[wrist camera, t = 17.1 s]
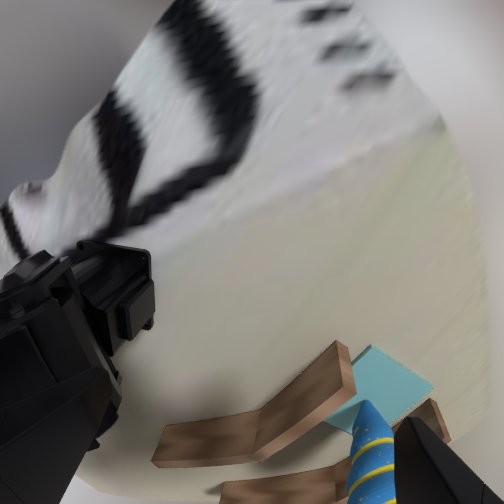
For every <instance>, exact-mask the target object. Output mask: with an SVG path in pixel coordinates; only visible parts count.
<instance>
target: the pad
mask: <svg viewBox="0 0 504 504" xmlns="http://www.w3.org/2000/svg"><path fill="white" fill-rule="evenodd" d="M351 365H352V370H353V375H354V381H355V386H356V391H357V394H356V395H355V396H354V397H352V398H351V399H350V400H349V401H347V402H346V403H345V404H344V405H342V406H341V407H340V408H339V409H337V410H336V411H335V412H333V413H332V414H331V415H330V416H328V417H327V418H326V419H324V420H323V421H324V422H326V423H328V424H330V425H333V426H335V427H337V428H339V429H341V430H344V431H346V432H348V433H351V434H352V427H353V424H354V421H355V419H356V417H357V415H358V412H359V410H360V407H361V404H362V402H363V401H365V400H369V401H370V402H371V403H372V404H373V406H374V407H375V408H376V409H377V411H378V412H379V413H380V414H381V416H382V417H383V418H384V420H385V421H386V422H387V423H388V424H390V423H391V422H392V421H394V420H395V419H396V418H398V417H399V416H400V415H401V414H403V413H404V412H405V411H406V410H408V409H409V408H410V407H411V406H413V405H414V404H415V403H416V402H417V401H419V400H420V399H421V398H422V397H423V396H425V395H426V394H427V393H428V392H429V391H430V390H431V389H433V386H432V385H431V384H430V383H428V382H427V381H425V380H424V379H422V378H421V377H419V376H417V375H416V374H414V373H413V372H411V371H410V370H408V369H407V368H405V367H404V366H402V365H401V364H399V363H398V362H396V361H395V360H393V359H392V358H390V357H389V356H387V355H386V354H384V353H383V352H381V351H380V350H378V349H377V348H375V347H374V346H372V345H370V346H369V347H368V348H367V349H366V350H365V351H364V352H363V353H362V354H361V355H360V356H359V357H357V358H356V359H355V360H354V361H353V362H352V363H351Z"/></svg>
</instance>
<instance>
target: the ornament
mask: <svg viewBox="0 0 504 504" xmlns="http://www.w3.org/2000/svg"><path fill="white" fill-rule="evenodd" d="M352 436H353V442H352V446H351V451H350V461H351V465H352V468H351V470H350V473H349V476H348V479H347V484H346V489H347V494H348V497H349V499H348V501H347V504H396V495H395V484H394V435H393V432H392V429H391V428H390V426H389V425H388V423H387V422H386V421H385V420H384V418H383V417H382V416H381V414H380V413H379V412H378V411H377V409H376V408H375V407H374V406H373V404H372V403H371V402H370V401H369V400H365V401H363V402H362V404H361V407H360V410H359V412H358V415H357V417H356V419H355V421H354V424H353V427H352Z"/></svg>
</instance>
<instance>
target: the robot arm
mask: <svg viewBox="0 0 504 504" xmlns="http://www.w3.org/2000/svg"><path fill="white" fill-rule="evenodd" d="M82 245H83V247H84V248H83V247H82ZM76 247H77V258H78V262H77V263H75V264H73V265H72V264H71V261H70V259H69V256H66V257H62V258H59V257H56V258H54V256H51V255H50V254H49V253H48V252H47V251H45V250H42V251H39V252H37V253H35V254H33V255H31V256H29V257H27V258H26V259H24V260H22V261H21V262H19V263H18V264H16V265H15V266H14V267H13V268H12V269H11V270H10V271H9V272H8V273H7V274H6V275H5V276H4V277H3V279H1V280H0V504H59V503H60V501H61V499H62V497H63V495H64V493H65V491H66V489H67V487H68V485H69V484H70V482H71V479H72V478H73V476H74V474H75V472H76V470H77V468H78V466H79V464H80V462H81V461H82V459H83V457H84V455H85V453H86V452H87V451H91V450H94V449H97V448H99V446H100V444H99V443H98V441H97V440H96V439H98V438H99V437H101V436H102V435H103V434H104V433H105V432H107V431H108V430H109V429H110V428H111V427H112V426H113V425H114V423H115V422H116V421H117V419H118V417H119V415H118V413H117V411H118V408H119V405H120V402H121V399H122V396H121V388H120V384H121V380H122V377H121V375H120V374H119V372H118V371H116V369H115V367H114V365H113V363H112V361H111V359H110V357H112V356H113V355H114V354H115V353H116V352H117V350H118V349H119V348H120V347H121V346H122V344H123V343H124V342H125V341H126V340H127V341H131V340H132V339H134V337H135V336H136V335H137V333H138V332H139V331H140V330H141V329H145V330H150V329H151V328H152V326H153V324H154V321H153V313H154V312H155V296H154V282H153V280H152V279H151V254H150V253H149V252H148V251H147V250H145V249H139V248H133V247H126V246H120V245H114V244H108V243H101V242H95V241H89V240H80V241H79V242H77V246H76ZM142 255H144V256H145V258H146V259H143V258H142ZM71 265H72V266H71ZM146 322H147V323H148V324H149V325H148V324H146ZM109 356H110V357H109ZM394 484H395V495H396V504H504V501H503V500H501V499H500V498H499V497H498V496H497V495H496V494H495V493H494V492H493V491H492V490H491V489H490V488H489V487H488V486H487V485H486V484H484V482H483V481H482V480H481V479H480V478H479V477H478V476H477V475H476V474H475V473H474V472H473V471H472V470H471V469H470V468H469V467H468V466H467V465H466V464H465V463H464V462H463V461H462V460H461V459H460V457H458V456H457V454H456V453H455V452H454V451H453V450H452V449H451V448H450V447H449V446H448V445H447V444H446V443H445V442H444V441H443V440H442V439H441V438H440V437H439V436H438V435H437V434H436V433H435V432H434V431H433V430H432V429H431V428H430V427H429V426H428V425H427V424H426V423H425V422H424V421H423V420H422V419H421V418H420V417H419V416H406V417H405V418H404V419H403V421H402V422H401V424H400V426H399V427H398V429H397V430H396V432H395V435H394Z"/></svg>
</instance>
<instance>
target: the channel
mask: <svg viewBox="0 0 504 504" xmlns="http://www.w3.org/2000/svg"><path fill="white" fill-rule="evenodd" d="M356 394H357V391H356V386H355V381H354V375H353V370H352V365H351V360H350V355H349V351H348V347H346V346H345V345H343V344H341V343H340V342H338V341H337V340H336V341H335V342H334V343H333V344H332V345H331V346H330V347H329V348H328V349H327V350H326V351H325V352H324V353H323V354H322V355H320V356H319V357H318V358H317V359H316V360H315V361H314V362H313V363H312V364H311V365H310V366H309V367H308V368H307V369H306V370H305V371H304V372H303V373H301V374H300V375H299V376H298V377H297V378H296V379H295V380H294V381H293V382H292V383H290V384H289V385H288V386H287V387H286V388H285V389H284V390H283V391H281V392H280V393H279V394H278V395H277V396H276V397H275V398H273V399H272V400H271V401H270V402H269V403H267V404H266V405H265V406H264V407H263V408H262V409H260V410H256V411H252V412H247V413H242V414H237V415H232V416H227V417H221V418H215V419H209V420H203V421H196V422H189V423H182V424H174V425H167V426H166V428H165V431H164V433H163V435H162V437H161V439H160V442H159V444H158V446H157V448H156V451H155V453H154V455H153V457H152V459H151V462H152V463H153V464H155V465H156V466H157V467H158V468H188V467H208V466H221V465H232V464H241V463H249V462H259V463H260V462H261V461H263V460H269V457H270V456H271V455H273V454H275V453H276V452H278V451H279V450H281V449H282V448H284V447H285V446H287V445H289V444H290V443H292V442H293V441H295V440H296V439H297V438H299V437H300V436H302V435H303V434H305V433H306V432H308V431H309V430H310V429H312V428H313V427H315V426H316V425H317V424H319V423H320V422H321V421H323V420H324V419H326V418H327V417H328V416H330V415H331V414H332V413H333V412H335V411H336V410H337V409H339V408H340V407H341V406H342V405H344V404H345V403H346V402H347V401H349V400H350V399H351V398H352V397H354V396H355V395H356ZM408 416H419V417H420V418H421V419H422V420H423V421H424V422H425V423H426V424H427V425H428V426H429V427H430V428H431V429H432V430H433V431H434V432H435V433H436V434H437V435H438V436H439V437H440V438H441V439H442V440H443V441H444V442H445V443H446V444H447V443H449V442H450V441H451V438H450V436H449V433H448V430H447V428H446V425H445V423H444V420H443V418H442V415H441V413H440V410H439V408H438V405H437V403H436V402H435V401H434V400H432V399H430V398H429V399H428V400H427V401H426V402H425V403H423V404H422V405H421V406H420V407H418V408H417V409H416V410H415V411H414V412H412V413H411V414H410V415H408ZM402 421H403V420H402ZM402 421H401V422H402ZM401 422H399V423H398V424H397V425H395V426H394V427H393V428H391V429H392V432H393V435H395V432H396V430H397V429H398V427H399V426H400V424H401ZM351 468H352V465H351V461H350V457H348V458H346V459H345V460H343V461H341V462H340V463H338V464H336V465H335V466H330V467H326V468H322V469H317V470H312V471H307V472H302V473H296V474H290V475H284V476H277V477H270V478H262V479H253V480H243V481H231V482H224V485H223V489H222V494H221V498H220V502H219V504H346V503H347V501H348V499H349V497H348V494H347V489H346V484H347V479H348V476H349V473H350V470H351Z"/></svg>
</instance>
